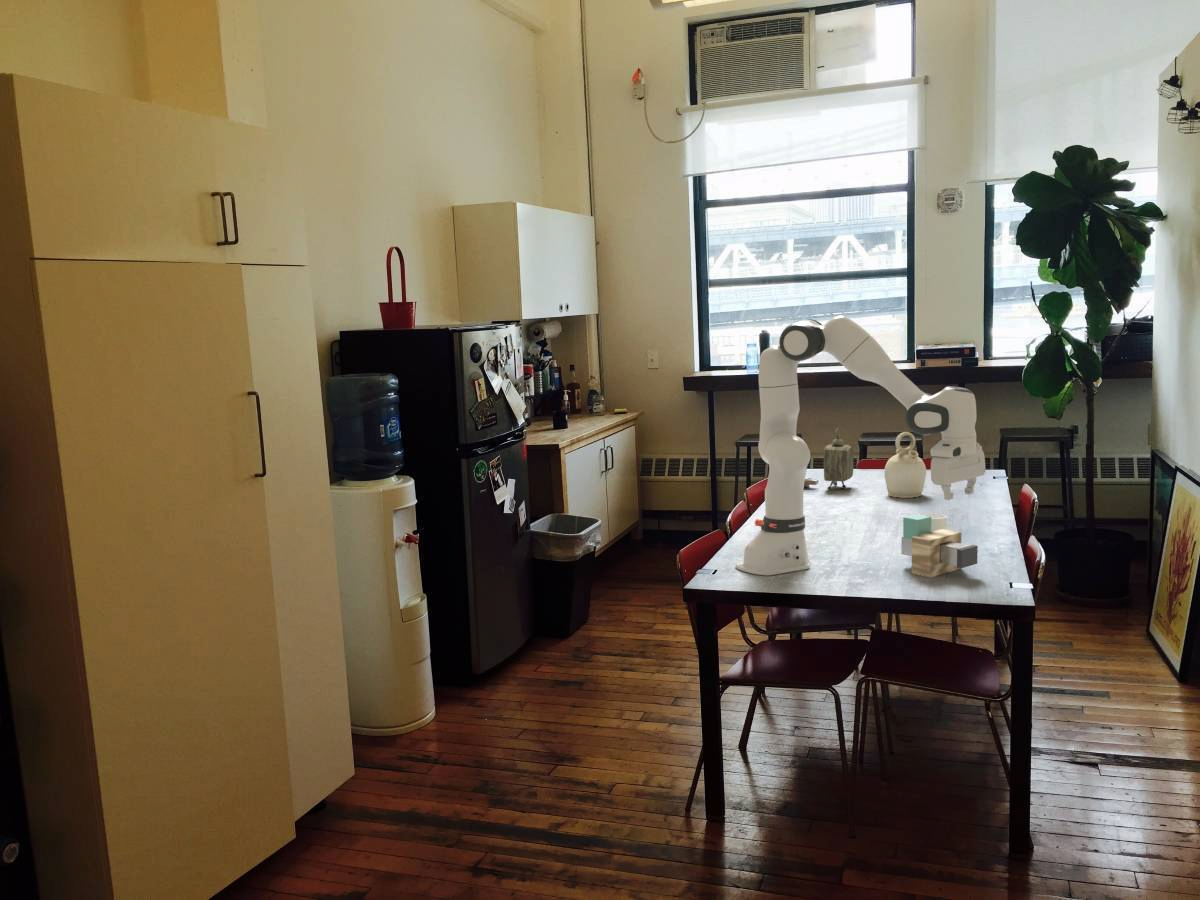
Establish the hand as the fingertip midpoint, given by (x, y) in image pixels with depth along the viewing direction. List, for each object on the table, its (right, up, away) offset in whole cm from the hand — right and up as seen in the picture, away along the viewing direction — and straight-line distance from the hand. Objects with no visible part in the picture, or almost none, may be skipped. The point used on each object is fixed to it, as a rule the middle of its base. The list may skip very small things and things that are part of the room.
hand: (959, 496), depth 270 cm
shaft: (-3, -18, +7) cm, 19 cm away
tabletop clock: (0, -3, +135) cm, 135 cm away
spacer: (-8, -12, +12) cm, 19 cm away
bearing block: (-3, -21, +8) cm, 23 cm away
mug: (0, -19, +26) cm, 32 cm away
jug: (+21, -5, +116) cm, 118 cm away
